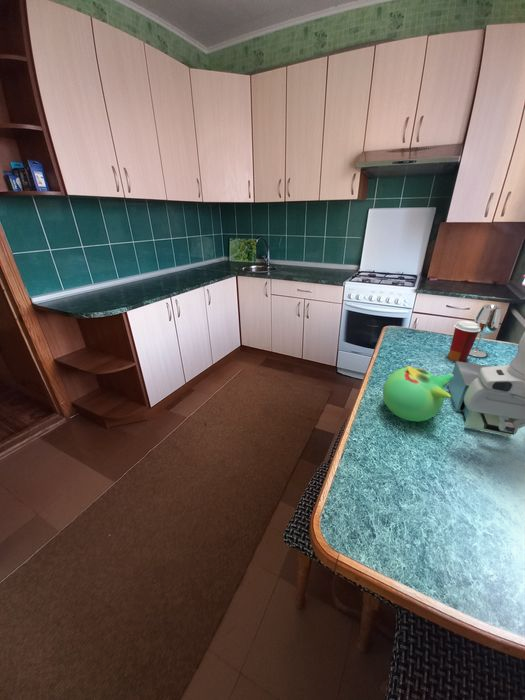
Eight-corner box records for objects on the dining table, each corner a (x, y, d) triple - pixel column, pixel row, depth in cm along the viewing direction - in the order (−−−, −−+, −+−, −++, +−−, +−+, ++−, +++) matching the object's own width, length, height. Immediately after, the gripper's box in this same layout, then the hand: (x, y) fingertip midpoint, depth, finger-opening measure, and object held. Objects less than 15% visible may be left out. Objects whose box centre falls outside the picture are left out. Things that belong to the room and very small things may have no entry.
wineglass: (459, 349, 122) (474, 304, 113) (475, 347, 123) (492, 302, 114) (474, 358, 115) (492, 311, 106) (491, 356, 117) (510, 309, 107)
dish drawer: (517, 450, 73) (530, 426, 69) (469, 440, 76) (479, 416, 72) (495, 406, 88) (504, 384, 84) (455, 399, 91) (463, 378, 88)
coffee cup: (467, 356, 117) (479, 321, 110) (470, 365, 111) (483, 329, 104) (443, 352, 120) (454, 318, 113) (445, 361, 114) (456, 326, 107)
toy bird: (386, 389, 98) (394, 351, 91) (443, 405, 90) (456, 364, 83) (373, 420, 85) (382, 378, 78) (439, 442, 77) (455, 397, 70)
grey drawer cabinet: (502, 419, 84) (514, 392, 79) (456, 411, 88) (465, 384, 83) (487, 391, 96) (498, 367, 91) (447, 385, 100) (455, 361, 95)
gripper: (584, 383, 62) (555, 432, 68) (472, 366, 68) (455, 412, 75) (603, 400, 56) (569, 451, 63) (479, 380, 63) (460, 428, 69)
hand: (506, 430), depth 69 cm, fingers closed
